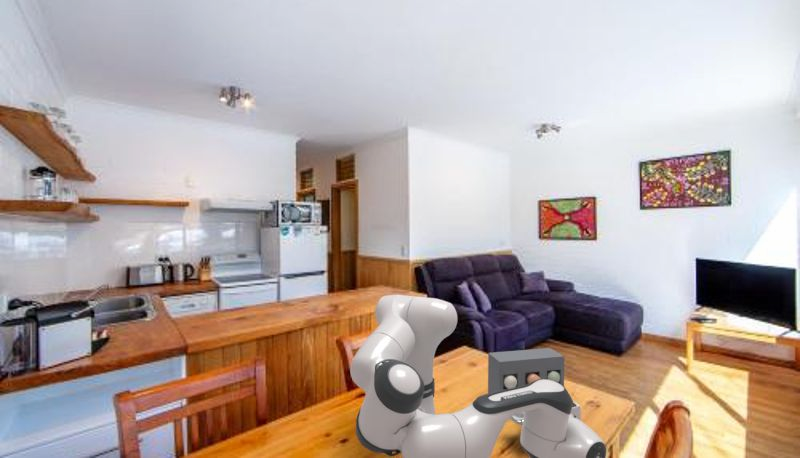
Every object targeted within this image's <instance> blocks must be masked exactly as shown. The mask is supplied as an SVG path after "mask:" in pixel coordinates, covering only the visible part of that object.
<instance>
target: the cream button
mask: <svg viewBox="0 0 800 458" xmlns="http://www.w3.org/2000/svg"><path fill="white" fill-rule="evenodd" d="M503 384H504V385H505V386H506V387H507V388H508V389H510V388H514V387H515V386H516V385H517V380H516V378H515V377H514V376H513V375H511V374H509V375H504V377H503Z"/></svg>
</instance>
